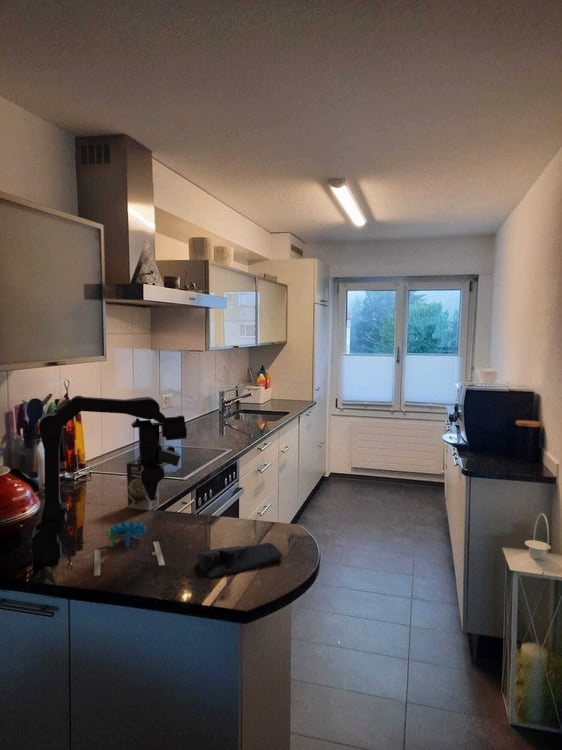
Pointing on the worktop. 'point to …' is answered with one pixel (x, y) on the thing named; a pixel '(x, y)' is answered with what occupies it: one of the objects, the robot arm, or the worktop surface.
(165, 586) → the worktop surface
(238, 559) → the dark grey stepped bar
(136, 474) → the coffee box
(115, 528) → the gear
